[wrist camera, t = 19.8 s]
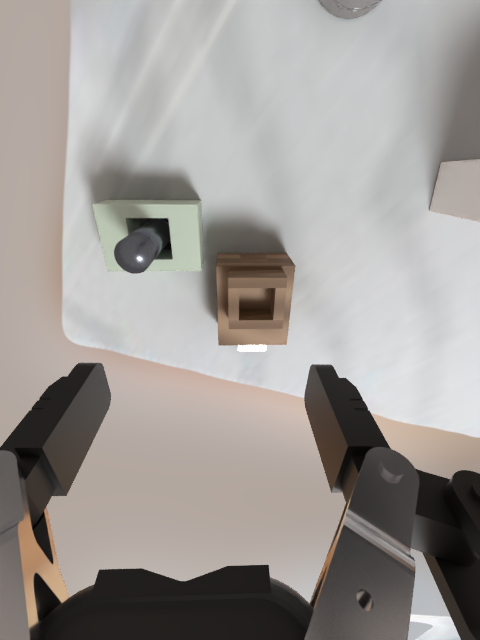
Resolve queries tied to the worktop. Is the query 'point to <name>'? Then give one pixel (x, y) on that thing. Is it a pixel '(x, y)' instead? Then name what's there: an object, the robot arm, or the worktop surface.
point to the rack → (182, 214)
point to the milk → (458, 190)
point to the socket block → (254, 298)
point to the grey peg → (142, 246)
